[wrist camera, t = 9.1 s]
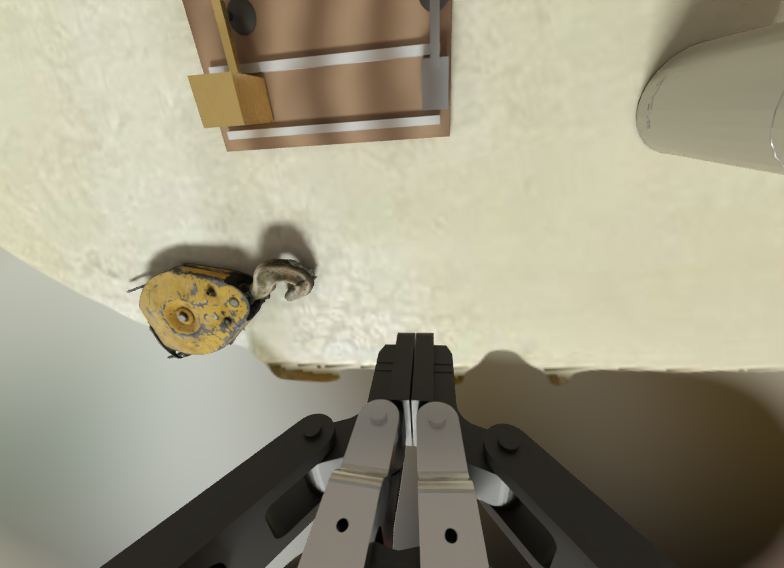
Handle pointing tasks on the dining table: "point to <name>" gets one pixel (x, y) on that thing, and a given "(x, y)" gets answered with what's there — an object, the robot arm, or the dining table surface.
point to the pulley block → (213, 302)
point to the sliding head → (230, 86)
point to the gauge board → (335, 68)
